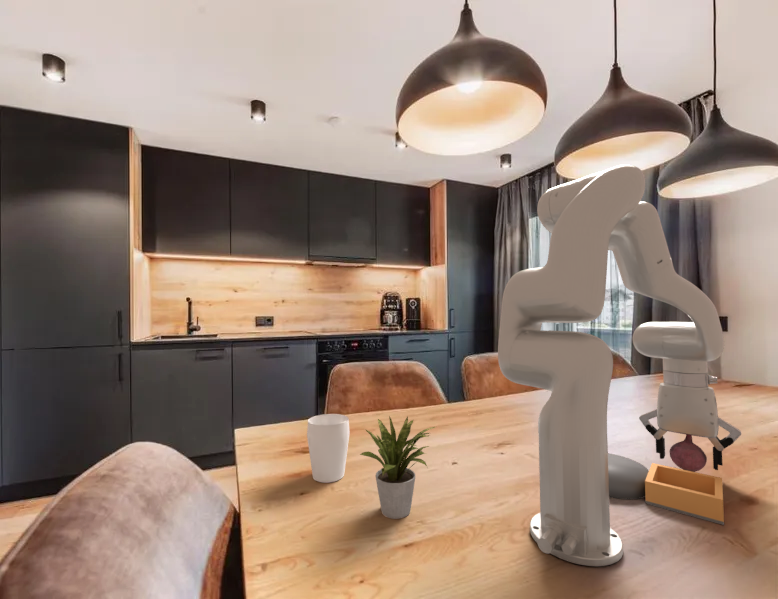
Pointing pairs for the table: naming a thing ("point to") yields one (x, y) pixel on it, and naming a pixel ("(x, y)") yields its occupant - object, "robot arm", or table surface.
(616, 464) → the dome with orange frame
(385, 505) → the house plant
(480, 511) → the table surface
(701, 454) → the vegetable
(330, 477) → the cup
